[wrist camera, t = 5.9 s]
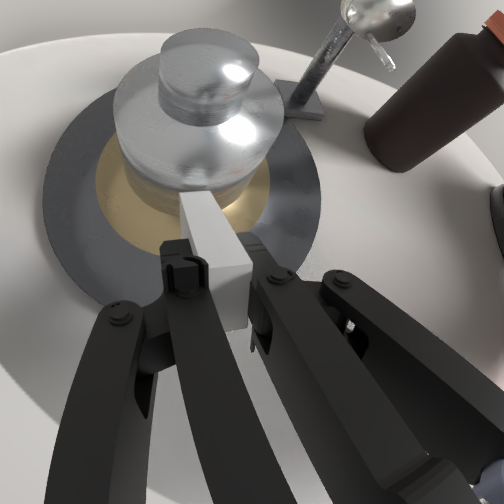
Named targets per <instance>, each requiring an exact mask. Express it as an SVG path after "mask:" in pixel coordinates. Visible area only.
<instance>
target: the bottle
mask: <svg viewBox="0 0 504 504" xmlns="http://www.w3.org/2000/svg"><path fill="white" fill-rule="evenodd" d="M485 24H486V25H487V26H486V27H485V26H483V25H482V27H483V30H482V31H481V32H480V33H479V34H478V35H474V34H467V33H466V34H465V33H456V34H455V35H453V36H452V37H451V38H450V39H449V40H448V41H447V42H446V43H445V44H444V45H443V46H442V47H441V48H440V49H439V50H438V51H437V52H436V53H435V54H434V55H433V56H432V57H431V58H430V59H429V60H428V61H427V62H426V63H425V64H424V65H423V66H422V67H421V68H420V69H419V70H418V71H417V72H416V73H415V74H414V75H413V76H412V77H411V78H410V79H409V80H408V81H407V82H406V83H405V84H404V85H403V86H402V87H401V88H400V89H399V90H398V91H397V92H396V93H395V94H394V95H393V96H392V97H391V98H390V99H389V100H388V101H387V102H386V103H385V104H384V105H383V106H382V107H381V108H380V109H379V110H378V111H377V112H376V113H375V114H374V115H373V116H372V117H371V118H370V119H369V120H368V121H367V122H366V125H365V128H364V133H365V138H366V141H367V143H368V146H369V148H370V149H371V151H372V152H373V154H374V155H375V156H376V157H377V159H378V160H379V161H380V162H381V163H383V164H384V165H385V166H386V167H388V168H390V169H392V170H394V171H396V172H402V173H403V172H406V171H409V170H410V169H412V168H413V167H415V166H416V165H418V164H419V163H421V162H422V161H424V160H425V159H426V158H428V157H429V156H431V155H432V154H434V153H435V152H437V151H438V150H439V149H441V148H442V147H444V146H445V145H447V144H448V143H449V142H451V141H452V140H454V139H455V138H457V137H458V136H459V135H461V134H462V133H464V132H465V131H466V130H468V129H469V128H471V127H472V126H474V125H475V124H476V123H478V122H479V121H480V120H482V119H483V118H485V117H486V116H487V115H489V114H490V113H492V112H493V111H494V110H496V109H497V108H499V107H500V106H501V105H503V104H504V14H503V13H502V12H500V11H498V10H497V11H496V12H495V13H494V14H493V15H492V16H491V17H490V18H489V19H488V20H487V21H486V22H485Z"/></svg>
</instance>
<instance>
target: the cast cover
mask: <svg viewBox="0 0 504 504" xmlns="http://www.w3.org/2000/svg"><path fill="white" fill-rule="evenodd" d="M258 65H259V55H258V53H257V51H256V49H255V48H254V47H253V46H252V45H251V44H250V43H249V42H247V41H246V40H245V39H243V38H241V37H239V36H237V35H235V34H233V33H230V32H227V31H223V30H218V29H211V28H197V29H189V30H185V31H182V32H179V33H176V34H174V35H173V36H171V37H169V38H168V39H167V40H166V41H165V42H164V44H163V45H162V48H161V53H159V54H157V55H154V56H152V57H150V58H148V59H146V60H144V61H142V62H141V63H139V64H138V65H136V66H135V67H134V68H132V69H131V70H130V71H129V72H128V73H127V74H126V75H125V77H124V78H123V79H122V81H121V82H120V84H119V86H118V87H117V90H116V93H115V96H114V101H113V113H114V119H115V125H116V131H117V136H118V142H119V147H120V152H121V157H122V162H123V166H124V171H125V175H126V178H127V181H128V183H129V185H130V187H131V188H132V190H133V191H134V193H135V194H136V195H137V196H138V197H139V198H140V199H141V200H142V201H143V202H145V203H146V204H147V205H149V206H150V207H152V208H154V209H156V210H158V211H160V212H162V213H166V214H169V215H173V216H179V217H180V202H179V193H183V192H197V191H210V192H211V194H212V195H213V197H214V199H215V200H216V202H217V204H218V205H219V207H220V209H221V210H222V209H224V208H226V207H228V206H229V205H231V204H232V203H233V202H235V201H236V200H237V199H238V198H239V197H240V196H241V195H242V193H243V192H244V191H245V189H246V187H247V186H248V184H249V183H250V181H251V179H252V177H253V176H254V174H255V172H256V171H257V169H258V167H259V166H260V164H261V162H262V161H263V159H264V157H265V156H266V154H267V152H268V151H269V149H270V147H271V146H272V144H273V142H274V141H275V139H276V138H277V136H278V134H279V133H280V130H281V128H282V125H283V120H284V107H283V102H282V99H281V96H280V94H279V92H278V90H277V88H276V87H275V85H274V84H273V82H272V81H271V80H270V79H269V78H268V77H267V76H266V75H265V74H264V73H263V72H262V71H261V70H260V69H258Z"/></svg>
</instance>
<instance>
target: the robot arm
mask: <svg viewBox="0 0 504 504" xmlns="http://www.w3.org/2000/svg"><path fill="white" fill-rule="evenodd" d="M179 202H180V228H181V239H176V240H167V241H163V243H162V244H161V246H160V248H159V250H160V260H161V272H162V280H163V287H164V288H163V292H162V295H161V296H160V297H159V298H158V299H157V300H156V301H154V302H153V303H151V304H149V305H146V306H144V307H140V305H138V304H136V303H135V302H132V301H127V300H122V301H116V302H113V303H110V304H108V305H107V306H105V307H104V308H103V309H102V310H101V312H100V313H99V314H98V317H97V319H96V322H95V324H94V326H93V329H92V331H91V334H90V336H89V339H88V341H87V344H86V347H85V349H84V352H83V355H82V357H81V360H80V363H79V366H78V368H77V371H76V374H75V377H74V380H73V383H72V386H71V389H70V392H69V395H68V399H67V402H66V405H65V409H64V412H63V416H62V419H61V423H60V426H59V430H58V434H57V438H56V442H55V447H54V451H53V455H52V460H51V465H50V470H49V476H48V481H47V486H46V493H45V500H44V504H146V486H147V470H148V457H149V446H150V436H151V426H152V417H153V409H154V401H155V393H156V386H157V379H158V372H159V371H162V370H164V369H166V368H168V367H171V366H173V365H175V364H176V366H177V371H178V376H179V380H180V385H181V390H182V394H183V399H184V403H185V407H186V411H187V415H188V419H189V423H190V427H191V431H192V435H193V439H194V442H195V446H196V449H197V453H198V456H199V460H200V463H201V466H202V470H203V473H204V476H205V479H206V482H207V485H208V488H209V491H210V494H211V497H212V500H213V503H214V504H297V502H296V500H295V498H294V496H293V494H292V492H291V489H290V487H289V485H288V483H287V481H286V479H285V477H284V475H283V472H282V470H281V468H280V466H279V464H278V462H277V459H276V457H275V455H274V453H273V450H272V448H271V446H270V444H269V441H268V439H267V437H266V434H265V432H264V430H263V427H262V425H261V423H260V420H259V418H258V416H257V413H256V411H255V408H254V406H253V404H252V401H251V399H250V396H249V394H248V391H247V389H246V386H245V384H244V381H243V379H242V376H241V374H240V371H239V369H238V366H237V363H236V361H235V358H234V356H233V353H232V350H231V348H230V345H229V342H228V340H227V337H226V334H225V332H226V331H232V330H238V329H243V328H247V326H248V317H249V319H250V321H251V323H252V325H253V327H252V336H251V346H250V349H251V353H252V352H254V349H255V345H256V347H257V349H258V352H259V354H260V356H261V358H262V360H263V363H264V365H265V367H266V369H267V371H268V373H269V376H270V378H271V380H272V382H273V384H274V386H275V388H276V391H277V393H278V395H279V397H280V399H281V401H282V403H283V405H284V407H285V409H286V411H287V414H288V416H289V418H290V420H291V422H292V424H293V426H294V428H295V430H296V432H297V434H298V436H299V438H300V440H301V442H302V444H303V446H304V448H305V450H306V452H307V454H308V456H309V458H310V460H311V462H312V464H313V466H314V468H315V470H316V472H317V474H318V476H319V478H320V479H321V481H322V483H323V485H324V487H325V489H326V491H327V493H328V495H329V497H330V498H331V500H332V502H333V504H481V502H480V501H479V500H480V499H482V498H483V499H485V500H486V501H488V502H489V503H490V504H504V391H503V390H501V389H500V388H499V387H498V386H497V385H496V384H494V383H493V382H492V381H491V380H490V379H489V378H487V377H486V376H485V375H484V374H483V373H481V372H480V371H479V370H478V369H476V368H475V367H474V366H473V365H472V364H470V363H469V362H468V361H467V360H465V359H464V358H463V357H462V356H461V355H459V354H458V353H457V352H456V351H454V350H453V349H452V348H450V347H449V346H448V345H447V344H445V343H444V342H443V341H442V340H440V339H439V338H438V337H437V336H435V335H434V334H433V333H431V332H430V331H429V330H427V329H426V328H425V327H424V326H422V325H421V324H420V323H418V322H417V321H416V320H414V319H413V318H412V317H410V316H409V315H408V314H407V313H405V312H404V311H403V310H401V309H400V308H399V307H397V306H396V305H394V304H393V303H392V302H390V301H389V300H388V299H386V298H385V297H384V296H382V295H381V294H380V293H378V292H377V291H376V290H374V289H373V288H371V287H370V286H369V285H367V284H366V283H364V282H363V281H362V280H360V279H359V278H358V277H356V276H355V275H353V274H351V273H349V272H346V271H343V270H331V271H328V272H326V273H325V274H324V276H323V279H322V282H314V281H302V280H301V279H300V278H299V276H298V275H297V274H296V273H295V272H294V271H292V270H290V269H288V268H285V267H280V266H279V265H278V264H277V262H276V261H275V259H274V258H273V257H272V255H271V254H270V252H269V251H268V250H267V248H266V247H265V246H264V245H263V243H262V241H261V240H260V239H259V237H258V236H256V235H254V234H253V233H251V232H239V233H235V232H234V231H233V229H232V227H231V225H230V224H229V222H228V220H227V219H226V217H225V215H224V214H223V212H222V210H221V209H220V207H219V205H218V204H217V202H216V200H215V199H214V197H213V195H212V194H211V192H210V191H197V192H183V193H179ZM491 211H492V217H493V222H494V227H495V231H496V235H497V238H498V241H499V245H500V248H501V250H502V253H503V256H504V184H502V185H500V186H498V187H496V188H494V189H493V190H492V192H491ZM349 320H350V321H351V322H353V323H354V324H355V327H354V330H350V329H348V328H347V325H348V322H349ZM424 450H425V451H426V452H427V453H428V454H429V455H428V454H427V453H426V452H425V451H424ZM469 484H471V485H474V487H473V488H471V487H470V485H469Z"/></svg>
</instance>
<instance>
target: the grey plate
mask: <svg viewBox="0 0 504 504" xmlns="http://www.w3.org/2000/svg"><path fill="white" fill-rule="evenodd" d="M116 90H117V88H115V89H113V90H111V91H109V92H108V93H106V94H104V95H103V96H101V97H100V98H98V99H97V100H95V101H94V102H93V103H91V104H90V105H89V106H88V107H87V108H85V109H84V110H83V111H82V112H81V113H80V114H79V115H78V116H77V117H76V118H75V119H74V121H73V122H72V123H71V124H70V125H69V126H68V128H67V129H66V131H65V132H64V134H63V135H62V137H61V138H60V140H59V142H58V144H57V145H56V147H55V149H54V151H53V153H52V156H51V159H50V162H49V165H48V167H47V171H46V176H45V181H44V186H43V213H44V222H45V226H46V230H47V234H48V237H49V240H50V243H51V245H52V247H53V250H54V252H55V254H56V256H57V258H58V260H59V261H60V263H61V264H62V266H63V267H64V269H65V271H66V272H67V273H68V275H69V276H70V277H71V278H72V279H73V280H74V281H75V282H76V284H77V285H78V286H79V287H80V288H81V289H82V290H84V291H85V292H86V293H87V294H88V295H90V296H91V297H92V298H93V299H95V300H96V301H97V302H99V303H101V304H102V305H104V306H107V305H108V304H110V303H113V302H116V301H122V300H127V301H132V302H135V303H136V304H138V305H140V307H144V306H146V305H149V304H151V303H153V302H154V301H156V300H157V299H158V298H159V297H160V296H161V295H162V292H163V288H164V287H163V280H162V272H161V260H160V250H159V248H160V246H161V244H162V243H163V241H167V240H176V239H181V228H180V217H179V216H173V215H169V214H166V213H162V212H160V211H158V210H156V209H154V208H152V207H150V206H149V205H147V204H146V203H145V202H143V201H142V200H141V199H140V198H139V197H138V196H137V195H136V194H135V193H134V191H133V190H132V188H131V187H130V185H129V183H128V181H127V178H126V175H125V171H124V166H123V162H122V157H121V152H120V147H119V142H118V136H117V131H116V125H115V119H114V113H113V101H114V96H115V93H116ZM320 211H321V191H320V182H319V177H318V173H317V168H316V165H315V163H314V160H313V157H312V155H311V152H310V150H309V148H308V146H307V144H306V143H305V141H304V139H303V138H302V136H301V135H300V133H299V132H298V130H297V129H296V127H295V126H294V125H293V124H292V123H291V121H290V120H289V119H288V118H287V117H286V116H285V115H284V120H283V125H282V128H281V130H280V133H279V134H278V136H277V138H276V139H275V141H274V142H273V144H272V146H271V147H270V149H269V151H268V152H267V154H266V156H265V157H264V159H263V161H262V162H261V164H260V166H259V167H258V169H257V171H256V172H255V174H254V176H253V177H252V179H251V181H250V183H249V184H248V186H247V187H246V189H245V191H244V192H243V193H242V195H241V196H240V197H239V198H238V199H237V200H236V201H235V202H233V203H232V204H231V205H229V206H228V207H226V208H224V209H222V212H223V214H224V215H225V217H226V219H227V220H228V222H229V224H230V225H231V227H232V229H233V231H234V232H235V233H239V232H251V233H253V234H254V235H256V236H258V237H259V239H260V240H261V241H262V243H263V245H264V246H265V247H266V248H267V250H268V251H269V252H270V254H271V255H272V257H273V258H274V259H275V261H276V262H277V264H278V265H279V266H280V267H285V268H288V269H290V270H292V271H294V272H295V273H296V271H297V270H298V269H299V267H300V266H301V265H302V263H303V262H304V260H305V258H306V256H307V254H308V252H309V250H310V248H311V246H312V244H313V241H314V238H315V235H316V232H317V229H318V224H319V218H320Z"/></svg>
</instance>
